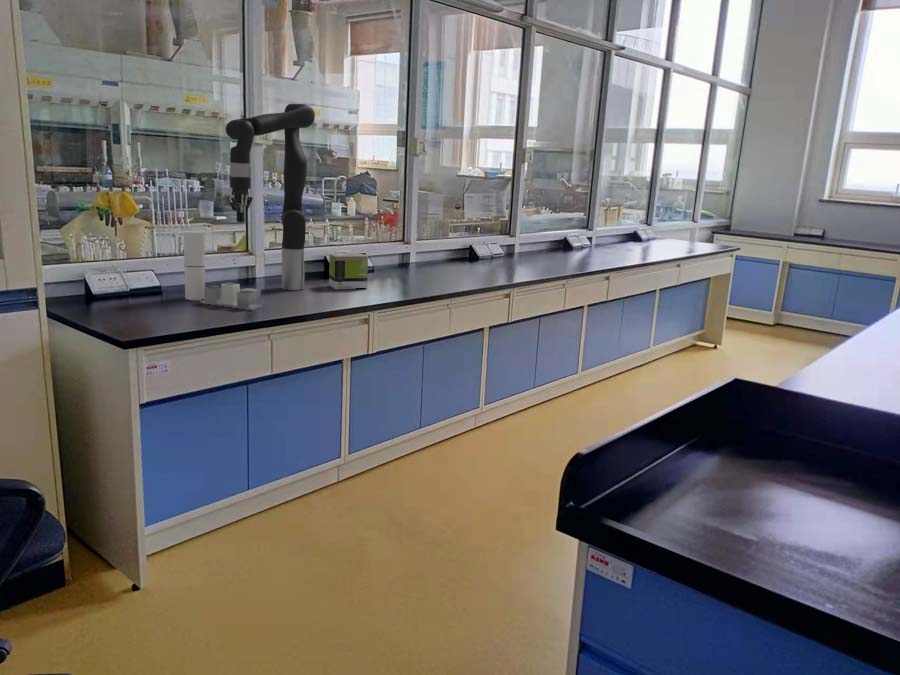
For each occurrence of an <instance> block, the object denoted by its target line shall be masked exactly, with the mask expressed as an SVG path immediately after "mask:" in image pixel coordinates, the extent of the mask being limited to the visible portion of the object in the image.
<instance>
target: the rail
mask: <svg viewBox="0 0 900 675" xmlns="http://www.w3.org/2000/svg"><path fill="white" fill-rule="evenodd" d="M204 297H205V299H204V300H199V303H200V304H202V303H203V304H202V305H208V304H210V306H215V305H217V307H222V306H224V307H223V308H228V307H232V308H231V309H235V308H238V309H237V310H242V309H244V310H243V311H248V310H253V311H256V310H255V309H257V310H259V309H258V308H260V309H262V305H260V304H258V299H257V292H255V291H249V290H243V291H239V292H237V304H234V305H231V304H224V303H222V300H221V286H218V285H209V286H205V287H204Z"/></svg>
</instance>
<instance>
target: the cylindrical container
mask: <svg viewBox="0 0 900 675" xmlns="http://www.w3.org/2000/svg"><path fill="white" fill-rule="evenodd" d="M183 257H184V258H183V260H184V261H183V262H184V263H183V264H184V295H185V296H184V298H185V300H187V299H188V301H201V300H202V299H204V300H205V297H204V287H206V263H205V261H206V260H205V259H206V256H205V232H204V231H198V230H196V231H195V230H186V231H183Z"/></svg>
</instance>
